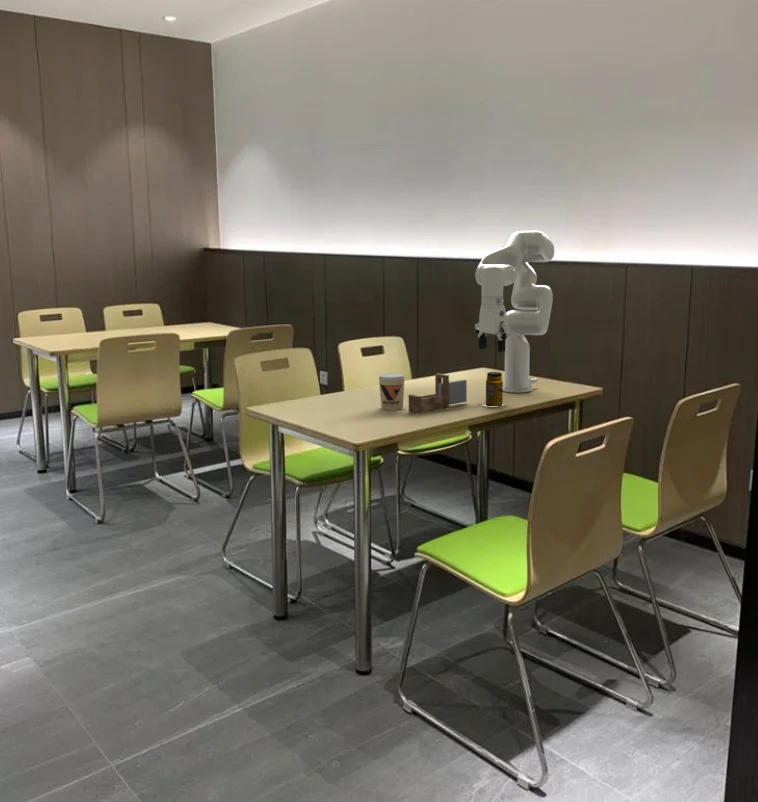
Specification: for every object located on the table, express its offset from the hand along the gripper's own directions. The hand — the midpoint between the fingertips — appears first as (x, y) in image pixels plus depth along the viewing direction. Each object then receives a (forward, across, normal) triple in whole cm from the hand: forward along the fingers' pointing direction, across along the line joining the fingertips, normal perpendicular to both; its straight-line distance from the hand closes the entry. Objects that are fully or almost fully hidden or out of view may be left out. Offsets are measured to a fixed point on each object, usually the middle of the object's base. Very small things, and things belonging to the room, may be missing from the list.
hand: (491, 349), depth 280 cm
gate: (+20, +9, +11) cm, 25 cm away
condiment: (+20, 0, 0) cm, 21 cm away
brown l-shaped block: (+20, +9, +21) cm, 30 cm away
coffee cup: (+20, +20, +30) cm, 41 cm away
